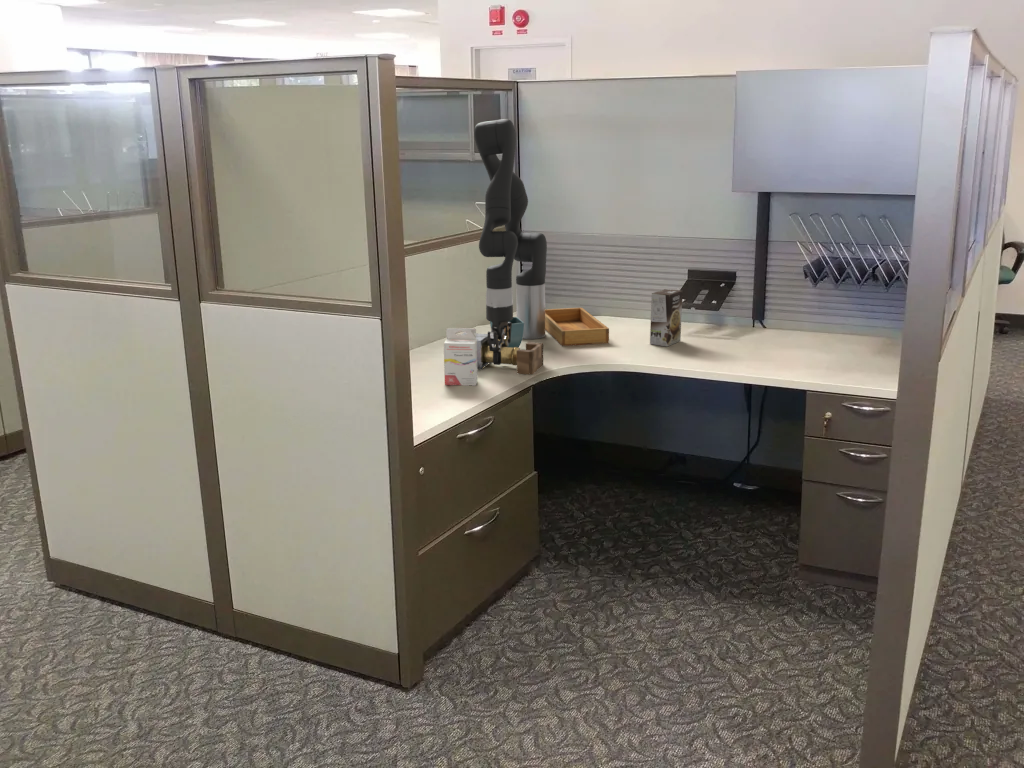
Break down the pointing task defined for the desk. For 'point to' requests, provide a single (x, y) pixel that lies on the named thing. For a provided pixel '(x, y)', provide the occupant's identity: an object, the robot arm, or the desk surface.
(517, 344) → the flower pot
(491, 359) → the tube
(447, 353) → the ink cartridge box
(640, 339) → the desk surface
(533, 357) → the socket
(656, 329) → the coffee box
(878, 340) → the desk surface
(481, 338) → the sleeve
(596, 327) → the tray
